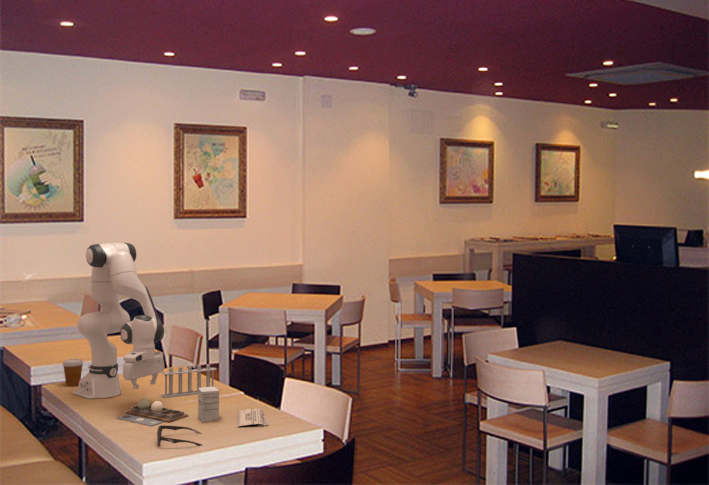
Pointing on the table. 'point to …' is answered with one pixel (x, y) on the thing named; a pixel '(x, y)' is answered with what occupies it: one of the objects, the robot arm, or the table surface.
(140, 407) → the sage ball
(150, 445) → the table surface
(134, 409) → the socket board
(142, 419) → the pattern card
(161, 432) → the sunglasses
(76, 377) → the disposable coffee cup
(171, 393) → the test tube rack
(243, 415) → the newspaper
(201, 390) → the supplement box
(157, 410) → the cream ball
